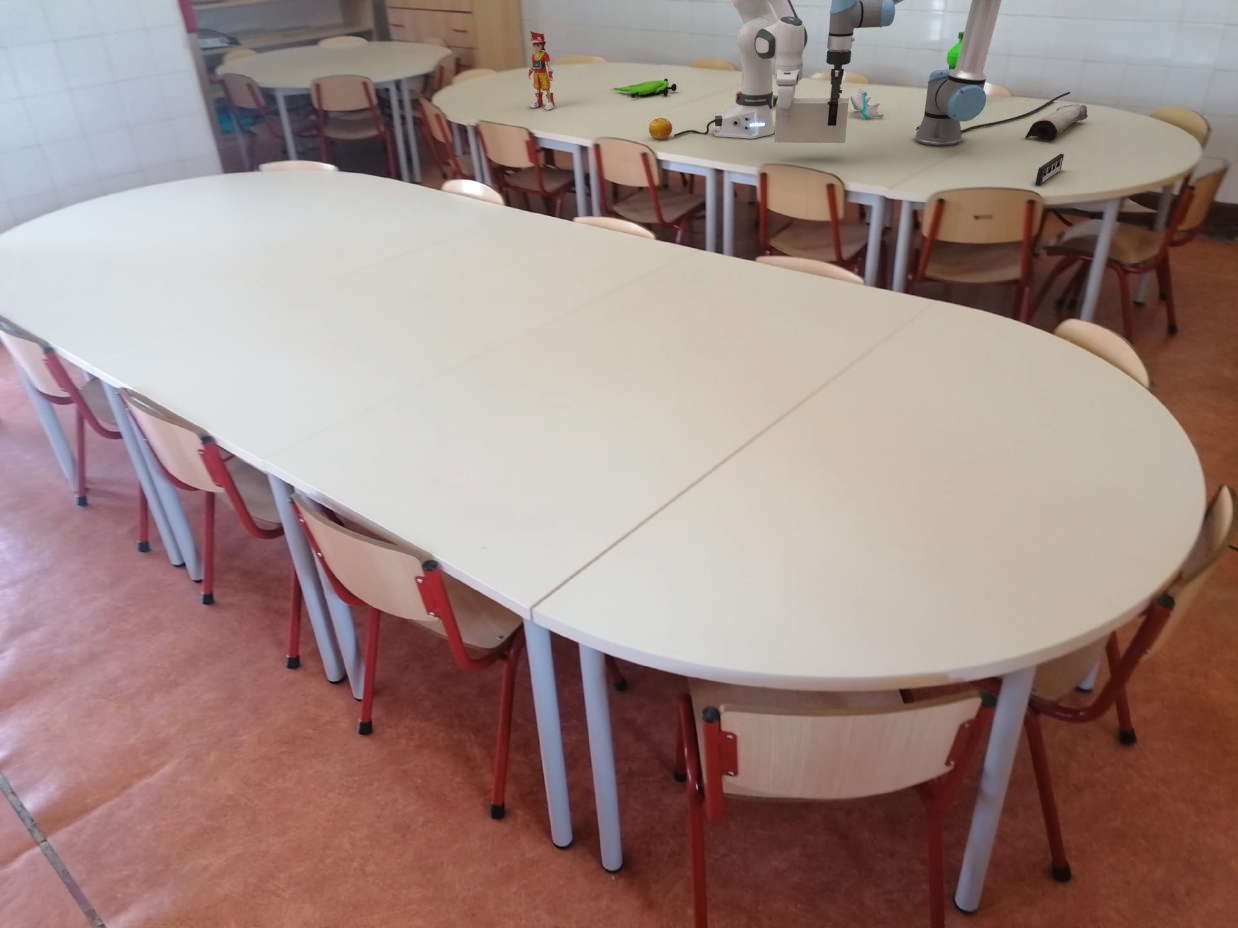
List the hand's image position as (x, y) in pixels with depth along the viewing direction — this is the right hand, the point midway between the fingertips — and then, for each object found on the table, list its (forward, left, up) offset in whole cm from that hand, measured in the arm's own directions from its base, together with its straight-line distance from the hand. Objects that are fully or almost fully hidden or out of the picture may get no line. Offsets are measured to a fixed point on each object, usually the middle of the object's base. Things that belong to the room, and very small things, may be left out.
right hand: (832, 120), depth 293 cm
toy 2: (+13, -129, -13) cm, 131 cm away
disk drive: (-18, -77, -13) cm, 80 cm away
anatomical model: (-43, -43, -13) cm, 62 cm away
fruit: (+37, -56, -13) cm, 69 cm away
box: (+5, -4, -7) cm, 10 cm away
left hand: (+12, -9, +1) cm, 15 cm away
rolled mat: (-85, +12, -13) cm, 87 cm away
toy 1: (+59, -128, -13) cm, 142 cm away
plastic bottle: (-83, -39, -13) cm, 93 cm away
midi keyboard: (-45, +50, -13) cm, 69 cm away
